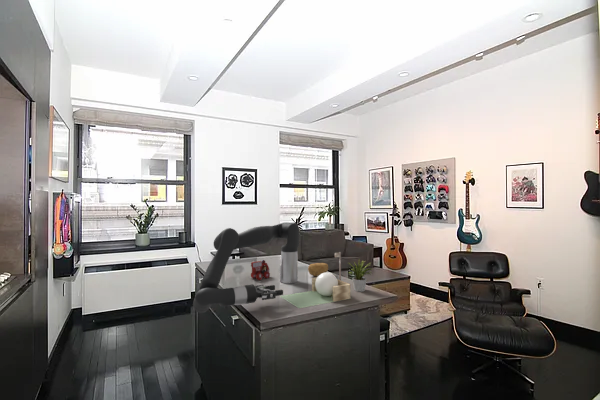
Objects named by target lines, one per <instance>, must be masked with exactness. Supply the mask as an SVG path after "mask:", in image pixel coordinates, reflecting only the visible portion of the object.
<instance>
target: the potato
mask: <svg viewBox="0 0 600 400" xmlns="http://www.w3.org/2000/svg"><path fill="white" fill-rule="evenodd" d="M328 270H329V264H328V263H325V262H315V263H311V264H309V265H308V267H307V271H308V274H309V275H311V276H312V277H318V276H319V275H320V274H322V273H326V272H327V273H328Z"/></svg>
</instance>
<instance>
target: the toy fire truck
mask: <svg viewBox="0 0 600 400" xmlns="http://www.w3.org/2000/svg"><path fill="white" fill-rule="evenodd" d="M250 267H251V273H250V277H251V279H256V280H258V281H261V280H263V278H264V279H270V276H271V273H270V267H269V264H268V263H267V262H266V259H265V260H264V259H263V260H260V261H259V260H258V261H257V260H256V261H251V263H250Z"/></svg>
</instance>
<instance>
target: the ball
mask: <svg viewBox="0 0 600 400" xmlns="http://www.w3.org/2000/svg"><path fill="white" fill-rule="evenodd" d="M316 277H317V279H316V281H315V287H316V290H317V291H318V293H320V294H321V295H323V296H331V295H333V286H338V281H337V279H338V278H337V277H336V276H335V275H334V274H333V273H331V272H328V271H327V272H326V273H322V274H320V275H319V276H316Z"/></svg>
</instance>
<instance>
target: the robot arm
mask: <svg viewBox="0 0 600 400" xmlns="http://www.w3.org/2000/svg"><path fill="white" fill-rule="evenodd" d="M274 239H275V240H276V239H285V240H286V243H285V244H283V245H281V248H280V250H281V251H280V252H281V253H280V254H281V255H280V257H281V261H280V262H281V263H280V264H279V282H281V283H283V284H296V283H298V281H299V280H298V279H299V276H298V271H299V269H298V268H299V267H298V264H299V263H298V262H299V261H298V256H299V255H298V252H299V251H298V250H299V244H300V227H299V225H298V224H297V223H295V222H281V223H278V224H274V225H262V226H255V227H251V228H248V229H247V230H243V231H242V232H240V233H238V231H237V230H235V229H234V228H232V227H228V228H225V229H224V230H223V229H222V231H221V232H220V233H219V234H218V235H217V236H216V237H215V238H214V240H213V247H214V249H215V251H216V253H215V254H214V256H213V258H212V260H211V261H210V262H209V264H208V266H207V267H206V270H205V271H204V272H205V273H204V274H203V277H202V279H201V284H200V286H199V289H198V290H197V292H196V293H195V296H194V299H193V302H192V306H193V309H194V311H195V312H197V313H199V314H204V313H206V312H208V311H209V310H210V308H211V306H212V305H219V306H220V307H224V308H225V307H229V306H241V305H247V304H253V303H256V302H257V299H258V298H259V299H261V300H262V301H267V300H273V299H276V297H278V296H279V297H280V296H283V295H284V289H277V290H276V286H275V285H274V284H271V285H270V284H269V285H265V284H258V285H255V284H246V285H245V284H244V285H237V286H233V287H225V288H218V287H219V285H220V282H221V279H222V277H223V274H224V271H225V268H226V267H227V264H228V262H229V259H230V257H231V256H232V253H233V251H235V250H239V249H242V248H249V247H253V246H260V245H266V244H267V243H270V242H271V241H272V240H274Z"/></svg>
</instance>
